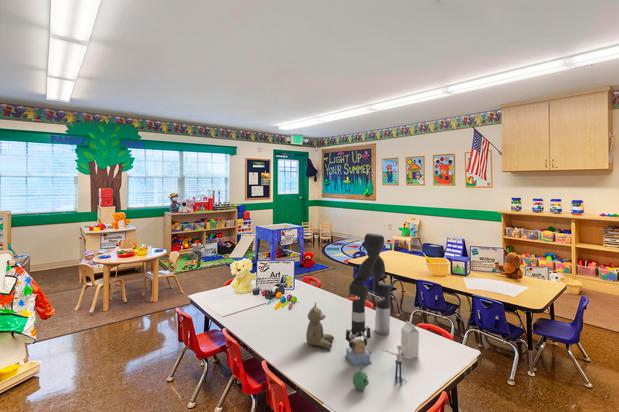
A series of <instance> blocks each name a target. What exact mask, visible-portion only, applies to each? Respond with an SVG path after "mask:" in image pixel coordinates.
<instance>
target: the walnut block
mask: <svg viewBox="0 0 619 412" xmlns="http://www.w3.org/2000/svg"><path fill="white" fill-rule="evenodd" d="M352 342H353V348H352V350H353V351H354V353H355V354H361V353H365V349H366V346H365V343H364V340H363V339H361V338H357V339H356V338H355V339H354V340H353V341H352Z"/></svg>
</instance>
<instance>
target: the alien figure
mask: <svg viewBox="0 0 619 412" xmlns="http://www.w3.org/2000/svg"><path fill="white" fill-rule="evenodd" d="M396 349H397V353H394V352H391V351H388V350H386V349H384V348H383V349H382V348H380V350H381V351H382V352H385V353H389V354H391V355H394V356H396V359H395V373H394V374H395V376H394V382H395V383H398V382H399V385H402V384H403V382H405V383H406V382H407V383H408V380H406V379H405V378H404V377H402V364H403V362H402V361H401V360H402V358H404V359H407V360H412V361H413V362H418V359H417V357H415V358H408V357H405V356H404V355H403V354H402V355H401V349H402V348H401V344H398V345H397V347H396ZM398 372H399V373H398ZM398 374H399V376H398Z"/></svg>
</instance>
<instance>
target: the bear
mask: <svg viewBox="0 0 619 412" xmlns="http://www.w3.org/2000/svg"><path fill="white" fill-rule="evenodd" d="M325 318H326V315H325V314H324V313H323V312H322V310H321V309H320V308H319V307H317V302H315V301H314V305H313V306H312V307H311V309H310V310H309V312H308V314H307V319H308V321H309V322H308V325H307V329H306V334H305V335H306V339H305V340H306V343H307V344H308V345H311V346H315V347H320V348H324V349H326V350H331V349H332V347H333V344H332V343H333V341H334V340H335V337H334V335H332V334H329V333H324V328H323V324H322V323H321V321H323V320H325ZM331 342H332V343H331Z"/></svg>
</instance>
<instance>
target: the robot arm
mask: <svg viewBox="0 0 619 412" xmlns="http://www.w3.org/2000/svg"><path fill="white" fill-rule="evenodd" d="M363 240H364V241H363V243H364V247H365V250H366V254H367V258H365V260H363V261H362V263H361V264H360V266H359V269H358V271H357V274H356V275H355V277H354V278H353V280H352V282H351V283H350V284H349V287H348V291H349V295H352V296H355V297H359V298H358V299H353V300H352V302H351V304H352V305H351V310H352V311H351V329H348V328H347V329H346V330H345V340H346V341H347V342H348V348H353V342H352V341H353V340H355V339H356V338H359V337H360V338H361V337H363V342H364V343H365V347H367V345H368V339H371V328H370V327H369V326H366V301H367V297H368V294H369V288H368V285H366V284H363V283H366V282H369V280H370V278H371V277H372V287H373V293H374V295H375V296H376V297H380V298H383V299H379V300H377V301H376V302H375V319H374V320H375V321H374V323H375V324H374V326H375V327H374V328H375V332H376V333H377V334H379V335H388V334H390V331H391V330H390V329H391V328H390V326H391V325H390V324H391V320H390V319H391V318H390V317H391V293H392V287H391V284H390V283H387V282H380V280H381V279H382V277H383V276H384V274H385V273H386V266H385V261H384V259H383V258H382V257H381V256H380V254H381V252H382V250H383V248H384V244H385V237H384V236H383V235H382V234H377V233H370V232H369V233H366V234H365V236H364V239H363ZM365 332H366V334H365Z"/></svg>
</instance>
